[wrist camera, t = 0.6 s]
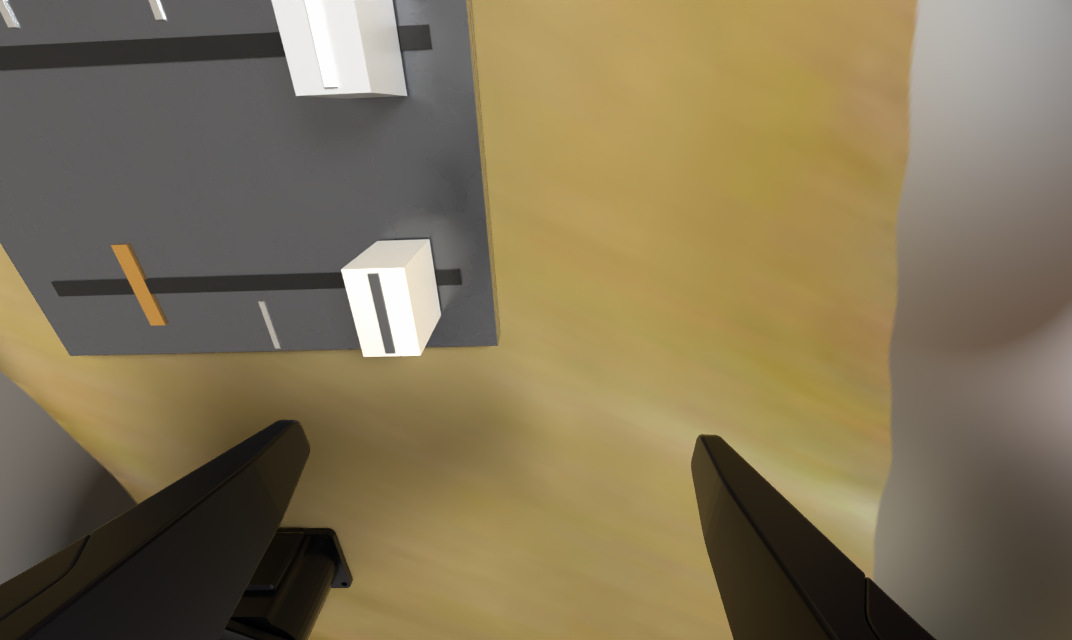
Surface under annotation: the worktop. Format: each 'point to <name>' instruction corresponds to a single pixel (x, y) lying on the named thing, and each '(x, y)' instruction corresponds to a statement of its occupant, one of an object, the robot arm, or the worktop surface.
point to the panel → (231, 176)
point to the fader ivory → (393, 297)
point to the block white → (341, 47)
